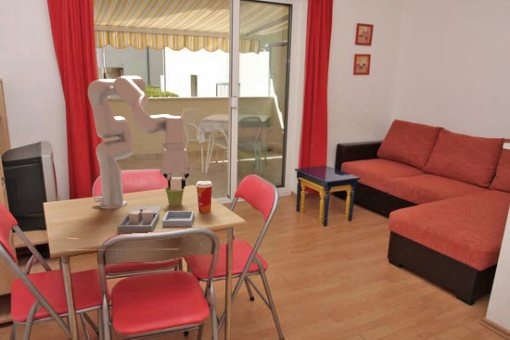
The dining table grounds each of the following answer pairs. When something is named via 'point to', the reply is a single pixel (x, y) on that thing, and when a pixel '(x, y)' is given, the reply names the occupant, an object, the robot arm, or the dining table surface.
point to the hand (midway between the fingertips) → (177, 188)
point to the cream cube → (176, 183)
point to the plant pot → (174, 196)
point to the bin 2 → (178, 218)
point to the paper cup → (204, 196)
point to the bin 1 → (137, 225)
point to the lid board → (144, 208)
